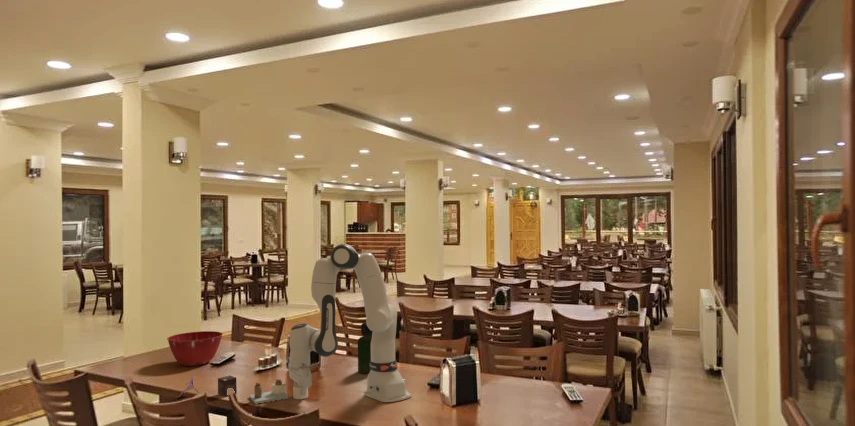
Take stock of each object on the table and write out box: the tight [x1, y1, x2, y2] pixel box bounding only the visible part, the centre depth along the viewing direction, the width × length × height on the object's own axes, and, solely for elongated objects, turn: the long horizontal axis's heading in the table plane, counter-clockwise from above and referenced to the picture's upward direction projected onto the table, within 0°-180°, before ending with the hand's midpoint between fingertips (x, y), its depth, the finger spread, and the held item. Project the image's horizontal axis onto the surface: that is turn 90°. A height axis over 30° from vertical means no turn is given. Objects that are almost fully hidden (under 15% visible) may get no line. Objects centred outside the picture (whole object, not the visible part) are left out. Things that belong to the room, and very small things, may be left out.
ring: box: [292, 384, 309, 400], centre depth 240 cm, size 6×6×5 cm
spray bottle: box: [357, 321, 373, 375], centre depth 281 cm, size 10×10×25 cm
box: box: [217, 375, 237, 397], centre depth 247 cm, size 6×6×7 cm
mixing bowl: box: [167, 330, 224, 367], centre depth 304 cm, size 28×28×16 cm
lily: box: [178, 373, 200, 398], centre depth 246 cm, size 12×12×10 cm
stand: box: [248, 378, 289, 405], centre depth 240 cm, size 11×15×7 cm
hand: (300, 392), depth 240 cm, fingers closed on ring, 6 cm apart
